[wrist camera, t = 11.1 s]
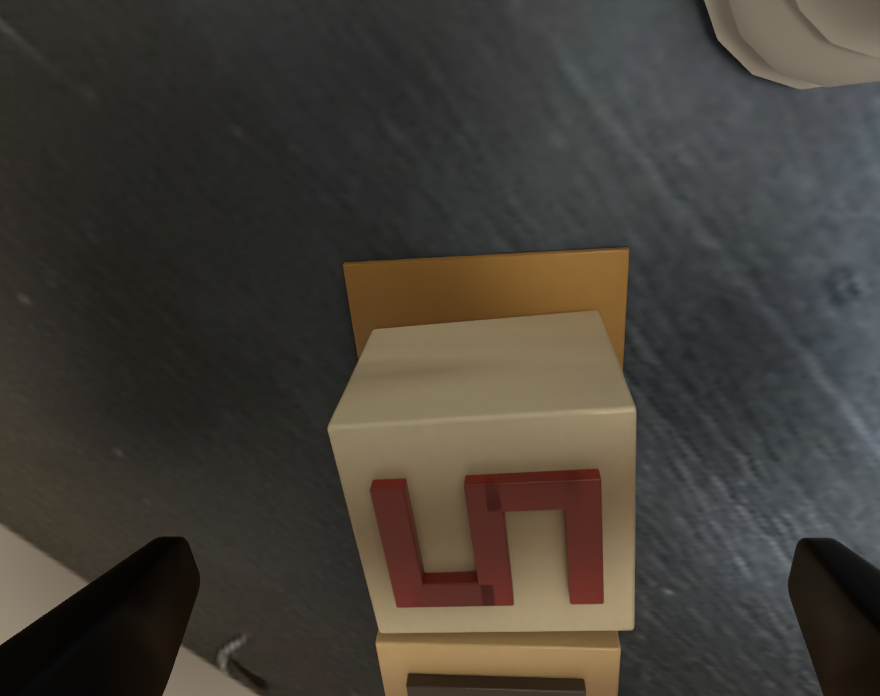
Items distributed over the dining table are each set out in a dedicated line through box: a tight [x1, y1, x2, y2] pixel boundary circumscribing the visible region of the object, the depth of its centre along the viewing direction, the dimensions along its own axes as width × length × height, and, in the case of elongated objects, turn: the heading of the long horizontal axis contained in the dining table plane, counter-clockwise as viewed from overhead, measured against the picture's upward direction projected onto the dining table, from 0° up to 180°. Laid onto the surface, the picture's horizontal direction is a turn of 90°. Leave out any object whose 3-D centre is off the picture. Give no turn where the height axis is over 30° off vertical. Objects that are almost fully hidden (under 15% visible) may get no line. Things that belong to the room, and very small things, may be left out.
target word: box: [343, 247, 629, 696], centre depth 15 cm, size 18×6×4 cm, turn 5°
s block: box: [327, 310, 636, 633], centre depth 12 cm, size 5×5×4 cm
